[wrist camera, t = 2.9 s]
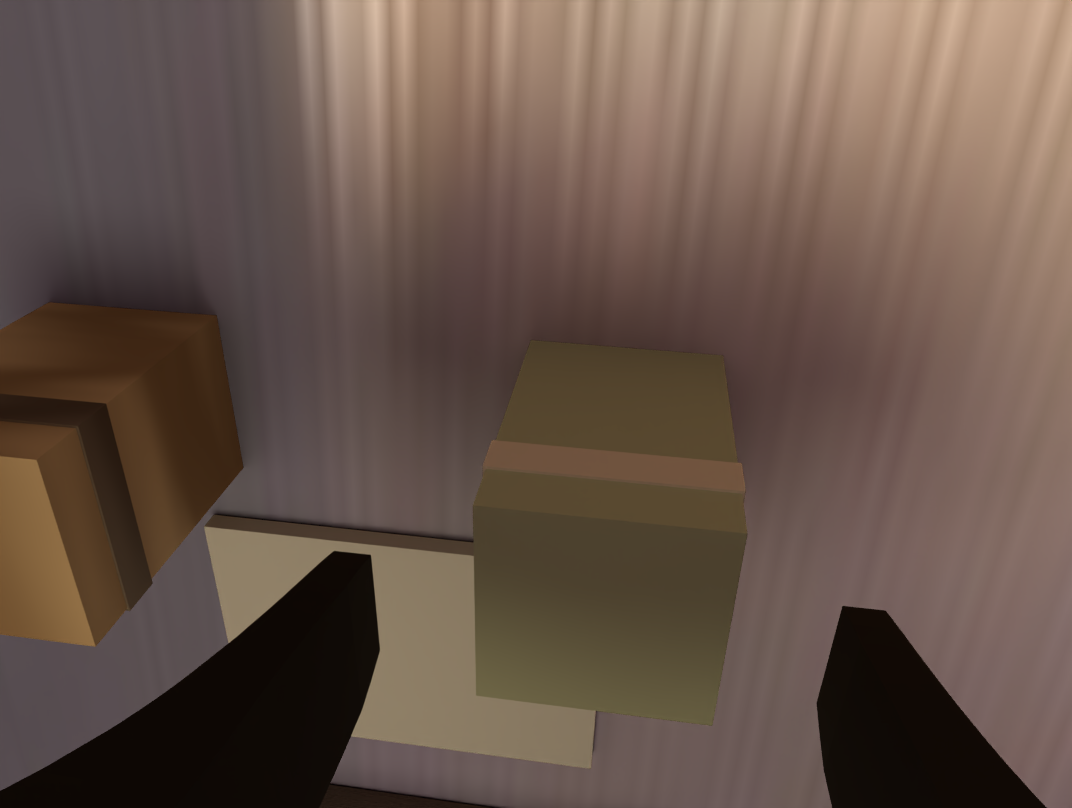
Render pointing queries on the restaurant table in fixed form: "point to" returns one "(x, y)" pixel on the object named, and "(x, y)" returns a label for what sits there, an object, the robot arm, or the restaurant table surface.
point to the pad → (401, 637)
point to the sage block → (610, 534)
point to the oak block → (104, 459)
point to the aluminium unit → (380, 800)
